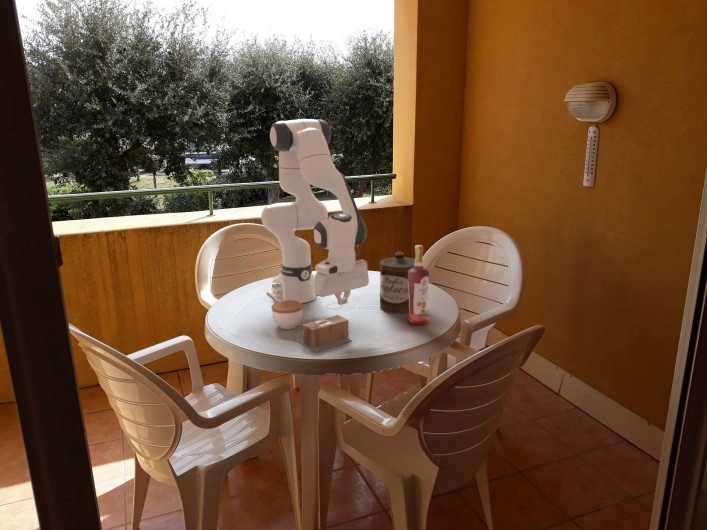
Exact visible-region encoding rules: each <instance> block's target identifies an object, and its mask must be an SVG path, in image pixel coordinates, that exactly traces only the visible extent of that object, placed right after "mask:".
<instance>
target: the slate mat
mask: <svg viewBox="0 0 707 530" xmlns="http://www.w3.org/2000/svg"><path fill="white" fill-rule="evenodd" d="M292 340H293V341H295V342H298V343H299V344H301V345H303V346H304V347H305V348H308V349H310V350H311V351H313V352H315V353H319V352H322V351H325V350H329V349H331V348H336V347H337V346H341V345H344V344H347V343H350V342H352V341H353V340H351V339H350V338H349V337H346V338H343V339H340V340H337V341H333V342H330V343H327V344H324V345H320V346H317V347H314V348H313V347H311V346H310V345H308V344H306V343H305V342H303V334H302V335H297V336H295V337H292Z"/></svg>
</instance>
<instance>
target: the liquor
mask: <svg viewBox="0 0 707 530" xmlns="http://www.w3.org/2000/svg"><path fill="white" fill-rule="evenodd" d="M414 252H415V258H414V259H415V265H414V268H411V269H410V270H409V271H408V290H409V313H408V318H407V321H409V323H411V324H412V325H415V326H421V324H422V325H424V324H425V323H426V322H427V321H428V318H427V307H428V306H427V304H428V294H429V293H428V292H429V280H430V271H429V270H428V269H427V268H425V267H424V263H423V261H424V260H423V252H424V246H423V245H421V244H416V245H415V246H414Z"/></svg>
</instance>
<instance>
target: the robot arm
mask: <svg viewBox="0 0 707 530" xmlns="http://www.w3.org/2000/svg"><path fill="white" fill-rule="evenodd" d="M269 132H270V133H269V139H270V143H271V147H273V148H274V149H275V150H276V151H279V152H278V154H279V155H278V177H279V181H278V182H279V186H280V188H281V190H283V192H285V193H287V194H289V195H291V196H294V197H295V201H290V202H287V201H286V202H275V203H271V204H268V205H266V206H265V207H264V208H263V210H262V212H261V217H260V219H261V224H262V225H263V227H264V228H265V229H266V230H268V231H269V232H270V233H272V234H273V235H274V236H275V237H276V239H277V240H278V242H279V244H280V249H281V255H282V263H281V264H280V266H279V268H280V273H279V274H278V275H277V276H276V277H274V278H273V280H272V284H271V287H272V288H270V289H268V290H266V294H267V295H268V296H269V297H271V298H272V299H273V300H274V301H275V303H276V302H279V301H284V300H294V301H298V302H301V303H302V304H304V303H308V302H309V303H310V302H311V301H315V299H316V298H317V296H318V297H320V298H325V297H329V296H335V298H336V299H337V304H338V305H339V306H343V305H346V304H348V303H349V302H348V299H349V297H350V295H351V290H356V289H361V288H364V287H367V286H368V284H369V283H370V279H369V278H370V277H369V271H368V262H367V261H366V260H365V259H364V258H363V259H362V258H361V259H359V260H356V251H355V247H357V248H358V247H360V246H361V245H362V244H363V243H364V241H365V240H366V239H367V237H368V230H367V228H368V227H367V225H366V223H365V221H364V219H363V217H362V215H361V214H360V211H359V209H358V206H357V204H356V201H355V198H354V196H353V193H352V190H351V189H350V186H349V184H348V180H347V179H346V176H345V175H344V174H343V173H342V172H340V171H339V170H338V168H336V167H335V164H334V162H333V160H332V157H331V152H330V149H329V144H330V143H331V139H332V132H331V127H330V124H329V123H328V121H326V120H323V119H318V118H316V119H311V118H310V119H309V118H300V119H291V120H280V121H279V120H278V121H276V122H274V123H273V124H272V125H271V127H270V131H269ZM310 185H311V186H313V187H315V188H319V189H322V190H325V191H327V192H330V193H331V194H333V195H334V196H336V198H337V200H338V203H339V206H340V208H341V211H342V212H333V213H331V214H330V215H329V213H328V209H327V207H326V205H325V204H324V203H322V201H320V200H319V199H317V197H316V196H315V195H314V193H313V191H312V188H311V186H310ZM303 230H304V231H305V230H312V238H313V243H314V244H315V245H316V246H317V247H318V248H320V249H324V250H327V249H328V254H327V256H328V257H327V258H325V259H324V260H322V261H320V262H319V263H317V264H316V265H315V266H314V268H315V269H314V270H315V271H316V274H313V264H312V263H311V261H312V259H311V256H312V255H311V245H310V243H309V242H308V241H307V240H305V239H303V238H300V237H298V236H296V235H295V232H296V231H303ZM343 293H344V294H343ZM342 295H343V297H342Z"/></svg>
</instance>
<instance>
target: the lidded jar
mask: <svg viewBox="0 0 707 530" xmlns="http://www.w3.org/2000/svg"><path fill="white" fill-rule="evenodd" d="M271 312H272V313H271V314H272V319H273V321H274V323H275V324H276V325H277V327H279V328H280V329H283V330H291V329H294V328H296V327H297V326H298V325H299V323H300V322H301V321H302V317H303V303H301V302H298V301H294V300H284V301H279V302H276V301H275V302H274V303H273V304H272V305H271Z"/></svg>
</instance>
